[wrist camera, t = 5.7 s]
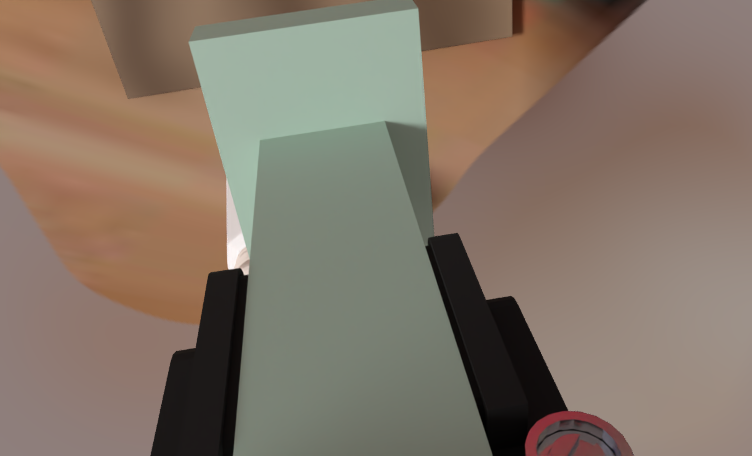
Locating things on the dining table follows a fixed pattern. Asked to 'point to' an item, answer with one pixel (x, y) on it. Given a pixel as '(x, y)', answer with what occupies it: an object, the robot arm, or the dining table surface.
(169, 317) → the dining table surface
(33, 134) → the dining table surface
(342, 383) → the mint t-shaped block
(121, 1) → the board
